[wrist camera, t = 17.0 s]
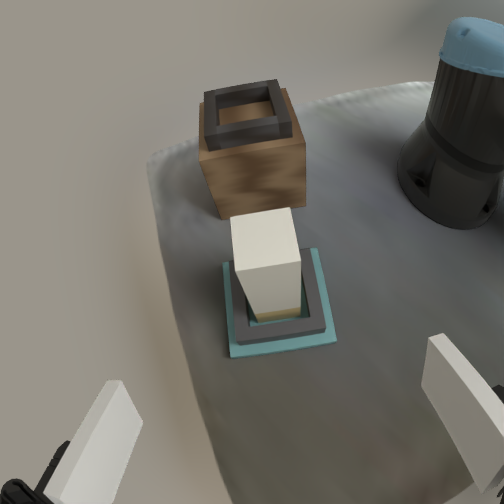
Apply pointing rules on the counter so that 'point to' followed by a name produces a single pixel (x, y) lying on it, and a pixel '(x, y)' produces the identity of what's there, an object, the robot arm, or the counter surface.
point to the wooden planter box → (252, 149)
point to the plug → (268, 263)
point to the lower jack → (280, 331)
